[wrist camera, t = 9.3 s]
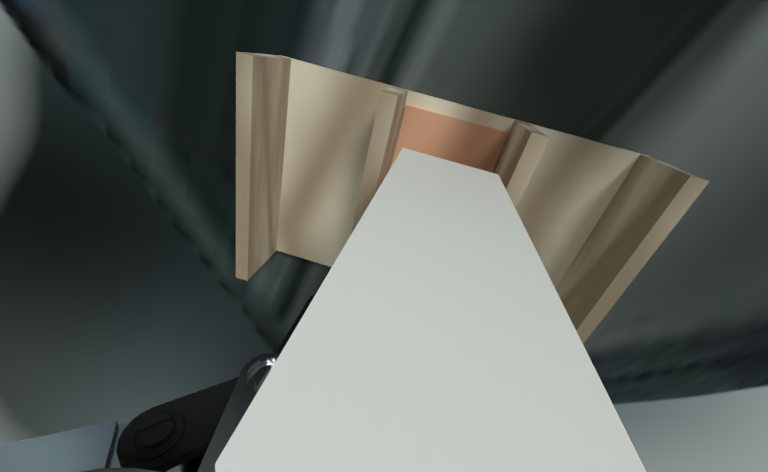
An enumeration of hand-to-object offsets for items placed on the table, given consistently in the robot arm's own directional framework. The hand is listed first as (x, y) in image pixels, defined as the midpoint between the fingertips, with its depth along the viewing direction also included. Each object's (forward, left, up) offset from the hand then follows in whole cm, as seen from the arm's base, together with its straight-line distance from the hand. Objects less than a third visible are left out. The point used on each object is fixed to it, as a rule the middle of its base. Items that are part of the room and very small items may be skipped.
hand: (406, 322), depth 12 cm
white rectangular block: (0, 0, -4) cm, 4 cm away
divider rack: (0, 0, -11) cm, 11 cm away
